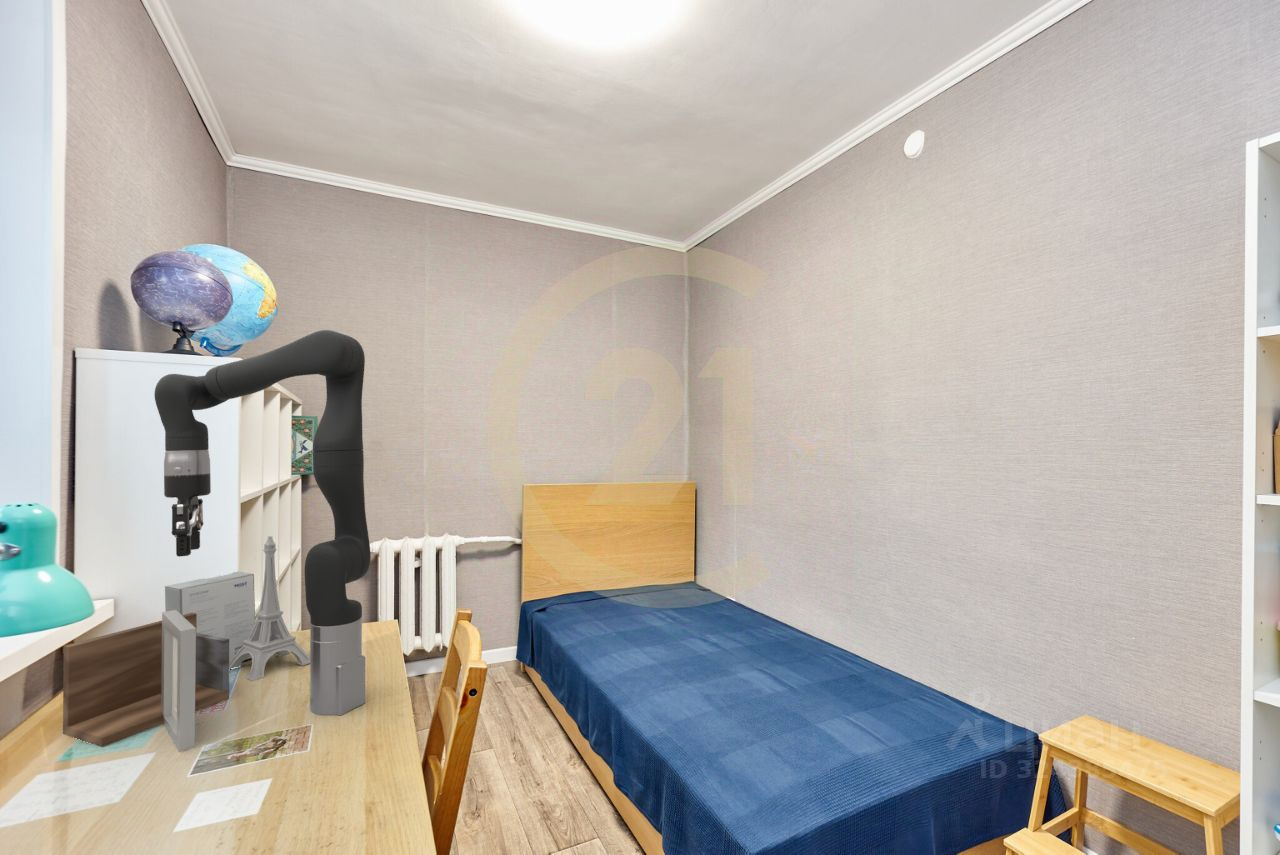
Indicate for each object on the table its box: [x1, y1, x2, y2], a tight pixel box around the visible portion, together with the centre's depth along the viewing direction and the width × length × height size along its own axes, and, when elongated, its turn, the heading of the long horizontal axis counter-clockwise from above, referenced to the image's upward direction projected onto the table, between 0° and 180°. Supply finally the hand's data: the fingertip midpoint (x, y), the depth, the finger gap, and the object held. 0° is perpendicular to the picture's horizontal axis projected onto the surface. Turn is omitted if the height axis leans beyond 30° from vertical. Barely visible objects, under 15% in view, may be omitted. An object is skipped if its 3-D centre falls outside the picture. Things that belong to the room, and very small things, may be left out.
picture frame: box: [161, 610, 196, 753], centre depth 106 cm, size 16×3×21 cm, turn 48°
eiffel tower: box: [229, 535, 310, 682], centre depth 137 cm, size 13×13×30 cm
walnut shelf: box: [62, 613, 230, 748], centre depth 112 cm, size 12×21×16 cm, turn 158°
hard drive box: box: [164, 571, 256, 662], centre depth 136 cm, size 16×8×20 cm, turn 149°
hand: (188, 552), depth 120 cm, fingers open, 8 cm apart
